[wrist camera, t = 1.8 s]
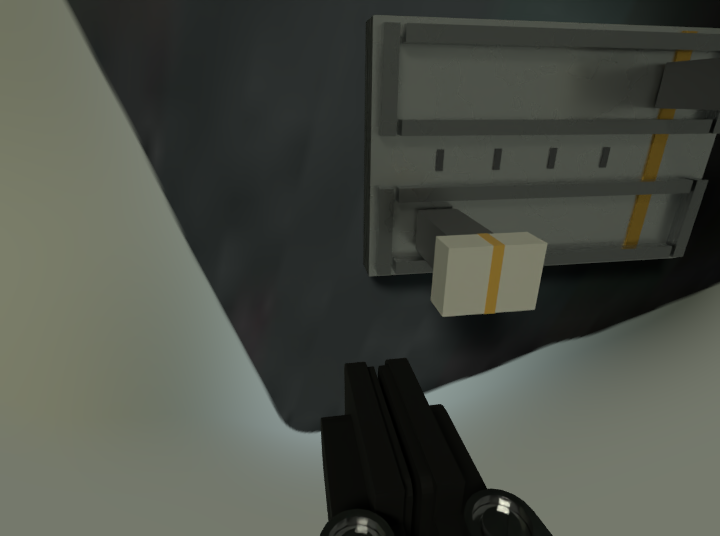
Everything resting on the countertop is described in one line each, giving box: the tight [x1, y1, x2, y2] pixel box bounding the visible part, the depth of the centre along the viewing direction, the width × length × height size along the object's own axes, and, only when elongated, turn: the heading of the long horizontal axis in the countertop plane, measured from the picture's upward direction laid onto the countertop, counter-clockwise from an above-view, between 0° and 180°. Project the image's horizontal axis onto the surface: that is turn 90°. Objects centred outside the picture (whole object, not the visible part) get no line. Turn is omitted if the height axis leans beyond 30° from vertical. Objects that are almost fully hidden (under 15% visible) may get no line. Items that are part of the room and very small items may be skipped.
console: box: [363, 15, 720, 276], centre depth 25 cm, size 14×22×3 cm, turn 90°
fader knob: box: [415, 209, 548, 317], centre depth 21 cm, size 3×4×8 cm
